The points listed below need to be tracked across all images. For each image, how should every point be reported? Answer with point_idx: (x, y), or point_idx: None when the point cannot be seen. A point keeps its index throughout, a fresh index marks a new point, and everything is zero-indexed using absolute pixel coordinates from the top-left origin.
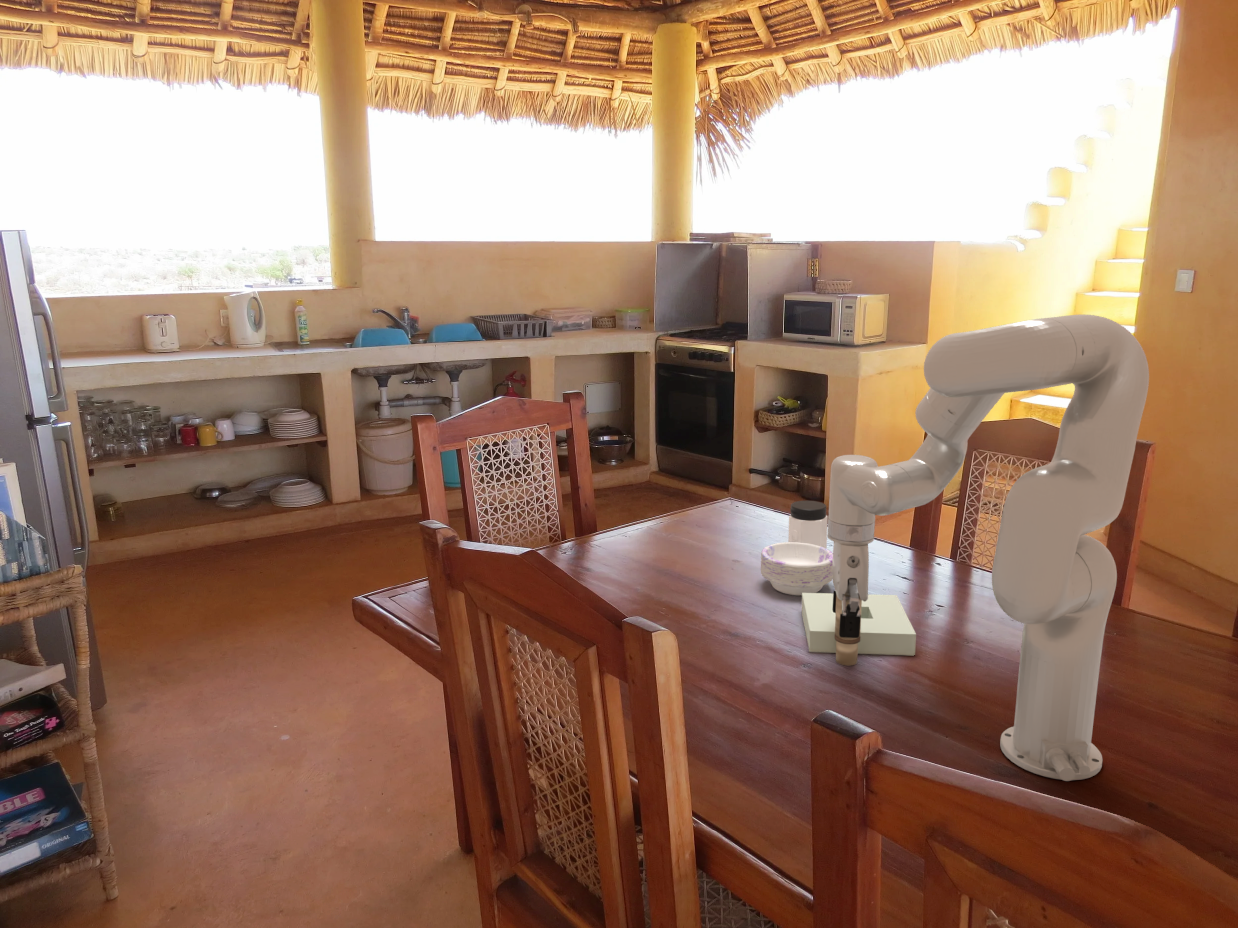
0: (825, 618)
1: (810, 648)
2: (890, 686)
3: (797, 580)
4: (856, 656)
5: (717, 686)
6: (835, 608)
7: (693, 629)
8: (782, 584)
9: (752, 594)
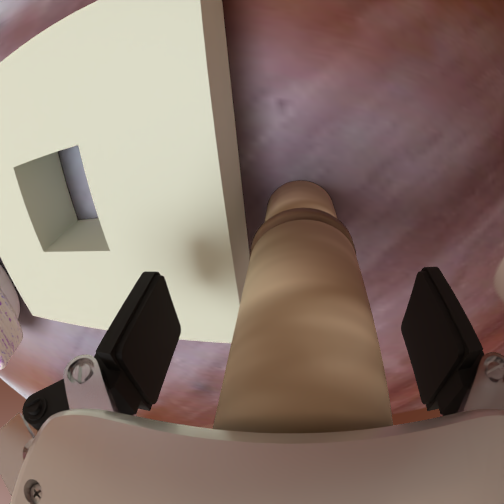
0: None
1: None
2: (456, 115)
3: (3, 315)
4: (322, 195)
5: (394, 400)
6: (176, 339)
7: (203, 416)
8: (20, 326)
9: (48, 340)
